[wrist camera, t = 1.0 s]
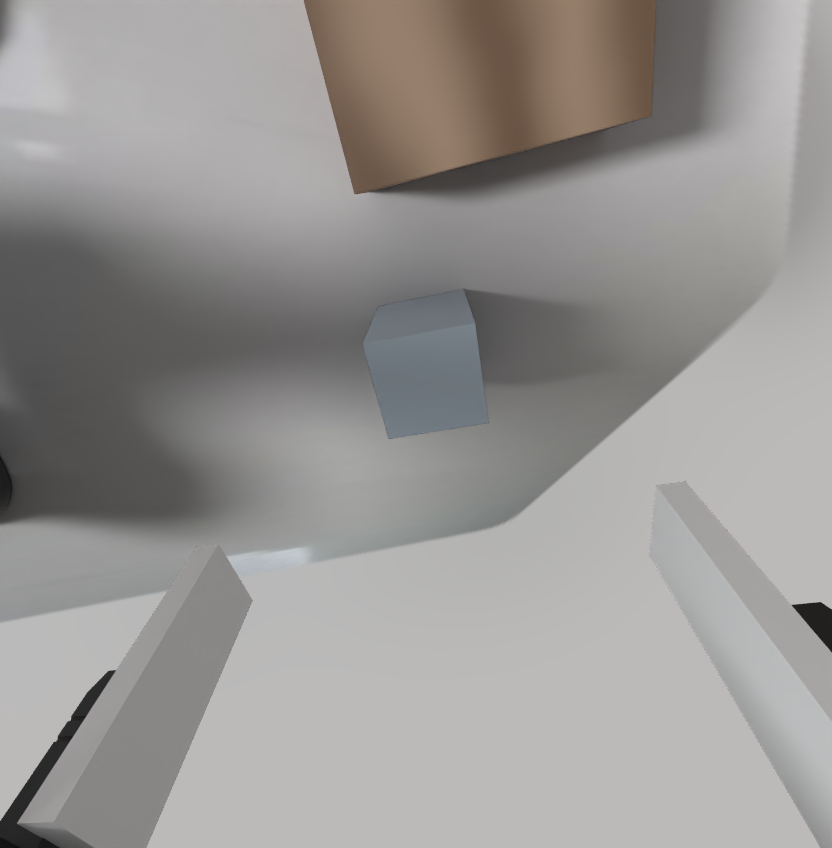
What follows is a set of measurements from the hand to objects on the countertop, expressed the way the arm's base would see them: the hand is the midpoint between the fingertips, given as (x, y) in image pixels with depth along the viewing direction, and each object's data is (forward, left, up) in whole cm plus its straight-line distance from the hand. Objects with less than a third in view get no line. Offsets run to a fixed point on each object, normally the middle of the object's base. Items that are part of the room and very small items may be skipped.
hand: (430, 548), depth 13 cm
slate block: (0, 0, -20) cm, 20 cm away
